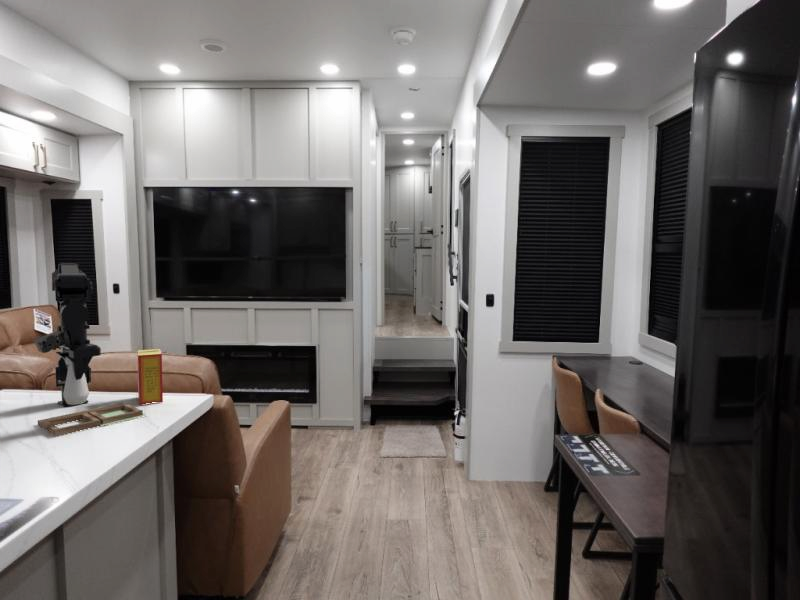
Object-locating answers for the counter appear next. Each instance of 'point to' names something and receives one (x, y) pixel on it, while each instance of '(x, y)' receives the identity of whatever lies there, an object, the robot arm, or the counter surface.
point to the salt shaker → (75, 387)
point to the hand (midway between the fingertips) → (75, 378)
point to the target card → (118, 414)
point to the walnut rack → (88, 418)
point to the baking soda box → (150, 376)
